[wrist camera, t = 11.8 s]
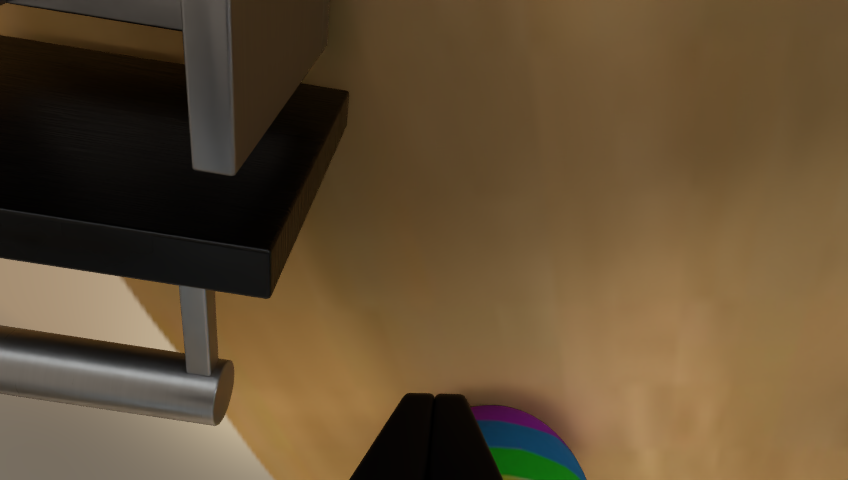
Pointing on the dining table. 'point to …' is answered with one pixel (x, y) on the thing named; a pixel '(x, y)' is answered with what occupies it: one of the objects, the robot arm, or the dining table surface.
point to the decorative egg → (525, 446)
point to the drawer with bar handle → (161, 184)
